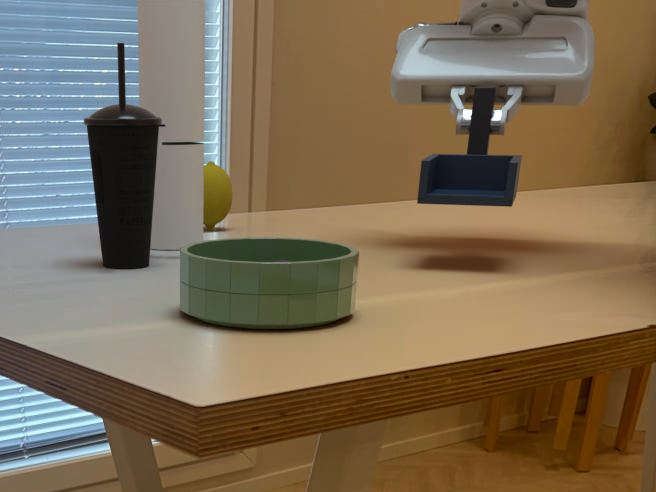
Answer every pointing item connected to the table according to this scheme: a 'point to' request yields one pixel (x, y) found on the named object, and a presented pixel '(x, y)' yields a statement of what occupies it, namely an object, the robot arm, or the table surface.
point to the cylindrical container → (175, 114)
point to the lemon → (216, 195)
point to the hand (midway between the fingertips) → (480, 130)
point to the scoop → (472, 166)
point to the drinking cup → (124, 176)
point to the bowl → (268, 282)
